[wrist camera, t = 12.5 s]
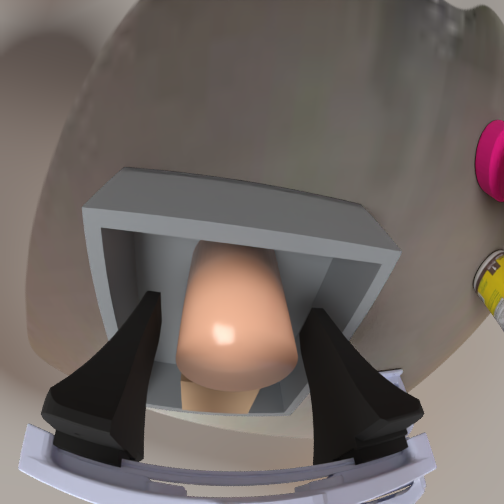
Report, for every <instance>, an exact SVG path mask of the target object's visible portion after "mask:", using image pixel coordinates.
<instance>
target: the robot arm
mask: <svg viewBox="0 0 504 504" xmlns="http://www.w3.org/2000/svg"><path fill="white" fill-rule="evenodd" d="M161 325H162V311H161V292H155V291H147V292H146V293H145V294H144V296H143V297H142V299H141V301H140V302H139V304H138V305H137V306H136V308H135V309H134V311H133V312H132V313H131V315H130V316H129V317H128V319H127V320H126V321H125V323H124V324H123V325H122V326H121V327H120V329H119V330H118V331H117V332H116V333H115V335H114V336H113V337H112V338H111V339H110V340H109V341H108V342H107V343H106V344H105V345H104V346H103V347H102V348H101V350H99V351H98V352H97V353H96V354H95V355H94V356H93V357H92V358H91V359H90V360H89V361H87V362H86V363H85V364H84V365H83V366H81V367H80V368H79V369H77V370H76V371H75V372H74V373H72V374H71V375H70V376H68V377H67V378H65V379H64V380H62V381H60V382H59V383H57V384H56V385H54V386H53V387H51V388H50V390H49V392H48V394H47V396H46V398H45V401H44V405H43V408H42V412H41V415H42V417H43V419H44V420H45V421H46V422H47V423H49V424H50V425H51V426H52V427H53V428H54V429H56V432H55V435H53V434H52V433H50V432H48V431H45V430H43V429H41V428H39V427H36V426H34V425H32V424H28V425H27V429H26V433H25V437H24V442H23V446H22V451H21V456H20V462H19V467H18V468H19V470H20V471H22V472H24V473H26V474H28V475H29V476H31V477H33V478H35V479H37V480H39V481H41V482H43V483H46V484H48V485H50V486H52V487H54V488H56V489H58V490H61V491H63V492H65V493H68V494H70V495H72V496H75V497H78V498H80V499H83V500H86V501H88V502H91V503H94V504H415V503H416V502H417V501H418V500H419V498H420V497H421V496H422V495H423V493H424V492H425V487H426V482H425V478H424V475H425V474H427V473H429V472H431V471H433V470H435V469H436V468H437V466H436V463H435V459H434V456H433V453H432V450H431V447H430V444H429V441H428V438H427V435H426V433H422V434H419V435H416V436H414V437H411V438H409V437H406V436H407V435H408V434H409V433H410V432H411V430H412V428H413V426H414V423H415V422H417V421H418V420H419V419H421V418H422V417H423V415H424V411H423V409H422V406H421V404H420V401H419V399H417V398H415V397H413V396H411V395H409V394H408V393H407V392H406V390H405V387H404V385H403V382H402V380H401V377H400V375H401V374H402V373H403V370H402V369H398V370H391V371H384V372H378V371H377V370H375V369H374V368H373V367H372V366H371V365H370V364H369V363H368V362H367V361H366V360H365V359H364V358H363V357H362V356H361V355H360V354H359V352H358V351H357V350H356V349H355V348H354V347H353V346H352V344H351V343H350V342H349V341H348V340H347V338H346V337H345V336H344V335H343V333H342V332H341V331H340V330H339V328H338V327H337V326H336V324H335V323H334V322H333V320H332V319H331V318H330V316H329V315H328V314H327V313H326V311H325V310H324V309H323V308H311V310H310V313H309V315H308V317H307V319H306V321H305V323H304V325H303V327H302V329H301V331H300V333H299V340H300V350H301V355H302V360H303V364H304V368H305V372H306V376H307V380H308V385H309V389H310V394H311V402H312V412H313V427H314V457H313V466H307V467H299V468H290V469H280V470H267V471H244V472H243V471H230V472H229V471H203V470H190V469H180V468H171V467H164V466H157V465H151V464H145V463H140V462H139V461H141V460H142V459H144V425H145V411H146V401H147V391H148V385H149V379H150V375H151V371H152V367H153V363H154V359H155V355H156V351H157V347H158V343H159V338H160V332H161ZM405 437H406V438H405ZM327 476H328V477H327ZM322 477H327V478H326V479H322V480H318V481H313V482H310V483H308V484H305V485H302V486H298V487H295V493H289V494H280V495H269V496H255V497H194V496H193V497H192V496H187V491H186V490H185V488H184V487H183V486H177V485H171V484H165V483H159V482H153V481H151V480H150V479H153V480H159V481H166V482H174V483H183V484H194V485H210V486H250V485H251V486H253V485H269V484H281V483H289V482H297V481H304V480H311V479H316V478H322ZM409 485H411V486H410V487H408V488H407V489H405V490H402V491H400V492H397V493H395V494H392V495H389V496H386V497H383V498H381V499H377V500H374V501H371V502H366V501H368V500H371V499H374V498H377V497H380V496H383V495H386V494H389V493H392V492H394V491H397V490H399V489H402V488H404V487H407V486H409ZM363 502H366V503H363Z"/></svg>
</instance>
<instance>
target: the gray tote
mask: <svg viewBox="0 0 504 504" xmlns="http://www.w3.org/2000/svg"><path fill="white" fill-rule="evenodd" d="M82 214H83V223H84V231H85V238H86V245H87V251H88V257H89V263H90V268H91V273H92V278H93V283H94V287H95V292H96V296H97V300H98V304H99V308H100V312H101V316H102V320H103V323H104V327H105V330H106V334H107V337H108V340H110V339H111V338H112V337H113V336H114V335H115V333H116V332H117V331H118V330H119V329H120V327H121V326H122V325H123V324H124V323H125V321H126V320H127V319H128V317H129V316H130V315H131V313H132V312H133V311H134V309H135V308H136V306H137V305H138V304H139V302H140V301H141V299H142V297H143V296H144V294H145V293H146V292H147V291H155V292H161V311H162V325H161V332H160V338H159V343H158V347H157V351H156V355H155V359H154V363H153V367H152V371H151V375H150V379H149V385H148V391H147V401H146V407H150V408H156V409H162V410H169V411H177V412H186V413H196V414H208V415H224V416H287V415H291V414H292V413H293V412H294V410H295V409H296V408H297V407H298V406H299V405H300V403H301V402H302V401H303V400H304V399H305V398H306V396H307V395H308V394H309V393H310V389H309V385H308V380H307V376H306V372H305V368H304V364H303V360H302V355H301V350H300V340H299V333H300V331H301V329H302V327H303V325H304V323H305V321H306V319H307V317H308V315H309V313H310V310H311V308H323V309H324V310H325V311H326V313H327V314H328V315H329V316H330V318H331V319H332V320H333V322H334V323H335V324H336V326H337V327H338V328H339V330H340V331H341V332H342V333H343V335H344V336H345V337H346V338H347V340H348V341H349V340H350V338H351V337H352V335H353V334H354V332H355V331H356V329H357V328H358V326H359V325H360V323H361V322H362V320H363V319H364V317H365V316H366V314H367V312H368V311H369V309H370V308H371V306H372V304H373V303H374V301H375V299H376V298H377V296H378V294H379V293H380V291H381V289H382V288H383V286H384V284H385V282H386V281H387V279H388V277H389V275H390V274H391V272H392V270H393V268H394V266H395V264H396V263H397V261H398V259H399V257H400V255H401V253H402V251H401V250H400V249H399V247H398V246H397V245H396V244H395V243H394V241H393V240H392V239H391V238H390V237H389V235H388V234H387V233H386V232H385V231H384V230H383V228H382V227H381V226H380V225H379V224H378V223H377V221H376V220H375V219H374V218H373V217H372V216H371V215H370V214H369V213H368V211H367V210H366V209H365V208H364V207H363V206H362V205H361V204H357V203H353V202H349V201H345V200H340V199H336V198H331V197H327V196H322V195H318V194H313V193H308V192H303V191H298V190H293V189H288V188H282V187H277V186H271V185H266V184H260V183H254V182H248V181H241V180H235V179H228V178H221V177H214V176H207V175H199V174H191V173H182V172H173V171H164V170H154V169H142V168H130V167H124V168H123V169H121V170H120V171H119V172H118V173H117V174H116V175H115V176H114V177H112V178H111V179H110V180H109V181H108V182H107V183H106V184H105V185H104V186H103V187H102V188H101V189H100V190H99V191H98V192H97V193H95V194H94V195H93V196H92V197H91V198H90V199H89V200H88V201H87V202H86V203H85V204H84V205H83V207H82ZM200 240H205V241H213V242H221V243H229V244H236V245H244V246H252V247H259V248H267V249H274V251H275V255H276V259H277V264H278V268H279V272H280V277H281V281H282V285H283V290H284V294H285V298H286V303H287V307H288V312H289V316H290V321H291V325H292V330H293V335H294V339H295V344H296V349H297V353H298V361H297V364H296V366H295V368H294V370H293V371H292V372H291V373H290V374H289V375H288V376H287V377H285V378H284V379H282V380H281V381H279V382H277V383H275V384H273V385H270V386H267V387H264V388H261V389H260V390H259V392H258V394H257V396H256V398H255V400H254V402H253V404H252V406H251V408H250V410H249V412H248V414H231V413H211V412H198V411H188V410H182V398H181V372H180V370H179V369H178V367H177V364H176V352H177V344H178V337H179V331H180V324H181V317H182V311H183V305H184V299H185V293H186V287H187V282H188V276H189V271H190V265H191V260H192V255H193V251H194V249H195V247H196V245H197V244H198V242H199V241H200Z"/></svg>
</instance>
